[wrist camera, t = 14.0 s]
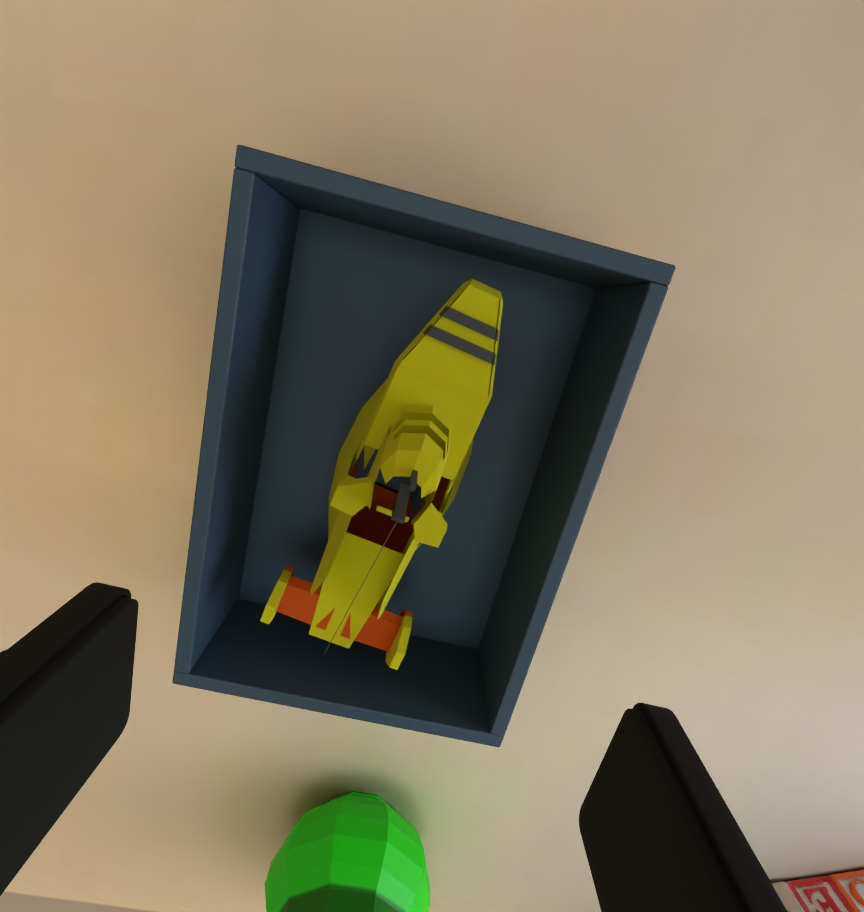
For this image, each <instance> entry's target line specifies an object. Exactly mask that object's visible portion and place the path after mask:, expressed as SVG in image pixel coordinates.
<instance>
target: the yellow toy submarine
mask: <svg viewBox="0 0 864 912" xmlns="http://www.w3.org/2000/svg"><path fill="white" fill-rule="evenodd" d="M502 309H503V299H502V295H501V292H500V291H498V290H496V289H494V288H491V287H489V286H487V285H485V284H483V283H481V282H479V281H476V280H474V279H471V280H469V281H467V282H465V283H463V284H462V285H461V286H460V287H459V288H458V290H457V291H456V292H455V293H454V294H453V295H452V296H451V298H450V299H449V300H448V301H447V302H446V303H445V304H444V306H443V307H442V308H441V309H440V310H439V311H438V312H437V314H436V315H435V316H434V317H433V318H432V319H431V320H430V322H429V323H428V324H427V325H426V326H425V327H424V328H423V330H422V331H421V332H420V333H419V334H418V335H417V336H416V338H415V339H414V340H413V341H412V342H411V343H410V344H409V346H408V347H407V348H406V349H405V350H404V351H403V352H402V354H401V355H400V356H399V357H398V358H397V360H396V361H395V362H394V364H393V367H392V369H391V372H390V374H389V376H388V378H387V379H386V381H385V382H384V383H383V384H382V385H381V386H380V388H379V389H378V390H377V391H376V392H375V393H374V394H373V396H372V397H371V398H370V399H369V400H368V401H367V402H366V404H365V405H364V406H363V407H362V408H361V410H360V412H359V414H358V416H357V418H356V420H355V422H354V424H353V426H352V428H351V430H350V432H349V434H348V436H347V438H346V440H345V442H344V444H343V446H342V448H341V450H340V452H339V455H338V460H337V464H336V468H335V473H334V477H333V481H332V486H331V490H330V494H329V514H328V543H327V546H326V549H325V551H324V554H323V557H322V560H321V562H320V565H319V568H318V570H317V573H316V576H315V579H314V581H313V583H312V582H309V581H305V580H302V579H299V578H296V577H293V576H292V575H293V572H294V567H291V566H289V565H286V567H285V568H284V570H283V572H282V574H281V576H280V578H279V580H278V582H277V584H276V586H275V588H274V590H273V592H272V594H271V596H270V598H269V600H268V602H267V604H266V607H265V609H264V612H263V615H262V617H261V620H260V621H261V622H264V623H267V624H269V623H270V622H271V621H272V620H273V618H274V616H275V614H276V612H280V613H282V614H285V615H287V616H290V617H292V618H295V619H297V620H300V621H303V622H305V623H308V624H310V625H311V628H310V631H309V635H312V636H315V637H318V638H320V639H323V640H326V641H329V642H330V643H331V642H332V643H334V644H337V645H340V646H343V647H346V648H348V649H349V648H350V646H351V644H352V643H353V641H354V640H355V641H358V642H361V643H364V644H367V645H370V646H373V647H376V648H379V649H382V650H385V651H387V652H386V661H385V662H386V663H387V665H388V666H389V667H390V668H393V669H395V670H398V668H399V666H400V664H401V662H402V660H403V658H404V656H405V653H406V649H407V644H408V640H409V636H410V632H411V626H412V616H413V612H412V611H409V610H406V609H405V610H403V611H401V613H400V615H396V614H394V613H391V612H389V611H387V610H384V609H385V607H386V605H387V603H388V602H389V600H390V598H391V596H392V594H393V592H394V590H395V588H396V586H397V584H398V582H399V581H400V579H401V577H402V575H403V573H404V571H405V569H406V567H407V565H408V563H409V562H410V560H411V558H412V556H413V554H414V552H415V551H416V550H417V549H418V548H419V547H420V546H421V544H422V543H424V544H427V545H431V546H434V547H437V548H438V547H439V545H440V543H441V541H442V539H443V537H444V535H445V533H446V530H447V523H446V521H445V520H444V519H443V517H442V516H443V515H444V513H445V512H446V511H447V509H448V508H449V506H450V505H451V503H452V502H453V500H454V498H455V496H456V493H457V491H458V488H459V485H460V483H461V480H462V477H463V475H464V472H465V469H466V467H467V464H468V461H469V459H470V456H471V451H472V443H473V437H474V435H475V433H476V431H477V428H478V426H479V424H480V422H481V420H482V417H483V415H484V413H485V411H486V408H487V406H488V404H489V402H490V400H491V397H492V392H493V384H494V375H495V367H496V359H497V351H498V342H499V334H500V326H501V317H502ZM363 449H364V469H365V467H366V466H367V464H368V462H369V460H370V458H371V457H372V455H373V453H374V451H375V450H376V449H377V450H378V452H377V455H376V457H375V460H374V462H373V464H372V467H371V469H370V471H369V474H368V476H367V477H365V478H357V479H355V474H356V471H357V467H358V464H359V460H360V457H361V453H362V450H363ZM379 468H380V469H381V472H382V475H383V478H384V481H385V484H386V483H387V482H388V481H389V480H390V479H391V478H392V477H393V476H403V477H410V485H407V484H404V483H402V482H401V484H400V489H399V493H398V494H397V493H395V492H392V491H390V490H388V489H385V488H383V487H380V486H378V485H375V484H374V482H375V481H377V479H378V476H377V475H378V472H379ZM417 484H418V485H419V486H420V487H421V498H423V497H425V500H424V502H423V504H422V505H421V507H420V509H419V510H418V512H417V514H416V515H415V517H414V518H413V516H412V506H411V499H410V498H409V495H410V491H412V492H414V491H415V489H416V487H417ZM322 582H323V585H322V586H321V584H322ZM329 645H330V644H329ZM329 645H328V647H329ZM328 647H327V649H328ZM327 649H326V650H327ZM325 652H326V651H325Z"/></svg>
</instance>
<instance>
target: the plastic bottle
mask: <svg viewBox="0 0 864 912" xmlns="http://www.w3.org/2000/svg"><path fill="white" fill-rule="evenodd" d="M265 893H266V910H267V912H428V909H429V906H430V884H429V878H428V872H427V866H426V860H425V854H424V848H423V845H422V843H421V840H420V837H419V834H418V832H417V830H416V829H415V828H414V827H413V826H412V825H411V824H410V823H409V822H408V821H407V820H406V819H404V818H403V817H402V816H401V815H399V814H398V813H397V812H396V811H394V809H393V808H392V807H391V806H389V805H388V804H387V803H386V802H384V801H383V800H382V799H381V798H379V797H378V796H377V795H371V794H365V793H358V792H350V793H347V794H344V795H342V796H339V797H336V798H333V799H330V801H329V802H328V803H325V804H323V805H320V806H318V807H315V808H312V809H311V810H309V811H308V812H306V813H305V814H303V815H302V817H301V818H300V819H299V821H298V822H297V824H296V825H295V827H294V828H293V830H292V831H291V833H290V834H289V836H288V837H287V839H286V840H285V842H284V844H283V845H282V847H281V848H280V850H279V851H278V853H277V854H276V856H275V857H274V859H273V860H272V862H271V865H270V868H269V872H268V875H267V879H266V882H265Z"/></svg>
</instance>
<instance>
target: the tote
mask: <svg viewBox="0 0 864 912" xmlns="http://www.w3.org/2000/svg"><path fill="white" fill-rule="evenodd" d="M235 167H236V168H235V169H234V175H233V184H232V192H231V200H230V209H229V217H228V225H227V234H226V242H225V250H224V259H223V267H222V275H221V284H220V292H219V300H218V309H217V317H216V325H215V334H214V342H213V350H212V359H211V367H210V375H209V384H208V392H207V400H206V409H205V417H204V425H203V434H202V442H201V450H200V459H199V467H198V475H197V484H196V492H195V500H194V509H193V517H192V525H191V533H190V542H189V550H188V558H187V567H186V575H185V583H184V592H183V600H182V608H181V617H180V625H179V633H178V642H177V650H176V658H175V667H174V670H175V671H174V675H173V683H174V684H179V685H184V686H189V687H194V688H199V689H204V690H209V691H215V692H220V693H225V694H230V695H235V696H240V697H245V698H250V699H255V700H260V701H266V702H271V703H276V704H281V705H286V706H291V707H296V708H301V709H306V710H311V711H317V712H322V713H327V714H332V715H337V716H342V717H347V718H352V719H357V720H362V721H368V722H373V723H378V724H383V725H388V726H393V727H398V728H403V729H408V730H413V731H419V732H424V733H429V734H434V735H439V736H444V737H449V738H454V739H459V740H464V741H470V742H475V743H480V744H485V745H490V746H495V747H500V745H501V743H502V740H503V737H504V735H505V732H506V729H507V726H508V724H509V721H510V718H511V715H512V713H513V710H514V707H515V705H516V702H517V699H518V696H519V694H520V691H521V688H522V685H523V683H524V680H525V677H526V675H527V672H528V669H529V666H530V664H531V661H532V658H533V655H534V653H535V650H536V647H537V644H538V642H539V639H540V636H541V634H542V631H543V628H544V625H545V623H546V620H547V617H548V614H549V612H550V609H551V606H552V604H553V601H554V598H555V595H556V593H557V590H558V587H559V584H560V582H561V579H562V576H563V574H564V571H565V568H566V565H567V563H568V560H569V557H570V554H571V552H572V549H573V546H574V544H575V541H576V538H577V535H578V533H579V530H580V527H581V524H582V522H583V519H584V516H585V513H586V511H587V508H588V505H589V503H590V500H591V497H592V494H593V492H594V489H595V486H596V483H597V481H598V478H599V475H600V473H601V470H602V467H603V464H604V462H605V459H606V456H607V453H608V451H609V448H610V445H611V443H612V440H613V437H614V434H615V432H616V429H617V426H618V423H619V421H620V418H621V415H622V412H623V410H624V407H625V404H626V402H627V399H628V396H629V393H630V391H631V388H632V385H633V382H634V380H635V377H636V374H637V372H638V369H639V366H640V363H641V361H642V358H643V355H644V352H645V350H646V347H647V344H648V342H649V339H650V336H651V333H652V331H653V328H654V325H655V322H656V320H657V317H658V314H659V312H660V309H661V306H662V303H663V301H664V298H665V295H666V292H667V290H668V287H667V286H668V285H669V284H670V281H671V279H672V276H673V273H674V270H675V266H674V265H671V264H667V263H664V262H660V261H656V260H653V259H649V258H646V257H642V256H638V255H635V254H631V253H628V252H624V251H620V250H617V249H613V248H610V247H606V246H602V245H599V244H595V243H592V242H588V241H584V240H581V239H577V238H574V237H570V236H566V235H563V234H559V233H556V232H552V231H548V230H545V229H541V228H538V227H534V226H530V225H527V224H523V223H520V222H516V221H512V220H509V219H505V218H502V217H498V216H494V215H491V214H487V213H484V212H480V211H477V210H473V209H469V208H466V207H462V206H459V205H455V204H451V203H448V202H444V201H441V200H437V199H433V198H430V197H426V196H423V195H419V194H415V193H412V192H408V191H405V190H401V189H397V188H394V187H390V186H387V185H383V184H379V183H376V182H372V181H369V180H365V179H361V178H358V177H354V176H351V175H347V174H343V173H340V172H336V171H333V170H329V169H325V168H322V167H318V166H315V165H311V164H307V163H304V162H300V161H297V160H293V159H289V158H286V157H282V156H279V155H275V154H271V153H268V152H264V151H261V150H257V149H253V148H250V147H246V146H243V145H237V151H236V159H235ZM471 279H474V280H476V281H479V282H481V283H483V284H485V285H487V286H489V287H491V288H494V289H496V290H498V291H500V292H501V295H502V299H503V309H502V317H501V326H500V334H499V342H498V351H497V359H496V367H495V375H494V384H493V392H492V397H491V400H490V402H489V404H488V406H487V408H486V411H485V413H484V415H483V417H482V420H481V422H480V424H479V426H478V428H477V431H476V433H475V435H474V437H473V443H472V451H471V456H470V459H469V461H468V464H467V467H466V469H465V472H464V475H463V477H462V480H461V483H460V485H459V488H458V491H457V493H456V496H455V498H454V500H453V502H452V503H451V505H450V506H449V508H448V509H447V511H446V512H445V513H444V515H443V516H442V517H443V519H444V520H445V521H446V523H447V530H446V533H445V535H444V537H443V539H442V541H441V543H440V545H439V547H438V548H437V547H434V546H431V545H427V544H424V543H422V544H421V546H420V547H419V548H418V549H417V550H416V551H415V552H414V554H413V556H412V558H411V560H410V562H409V563H408V565H407V567H406V569H405V571H404V573H403V575H402V577H401V579H400V581H399V582H398V584H397V586H396V588H395V590H394V592H393V594H392V596H391V598H390V600H389V602H388V603H387V605H386V607H385V609H384V610H387V611H389V612H391V613H394V614H396V615H400V613H401V611H403V610H405V609H406V610H409V611H412V612H413V616H412V626H411V632H410V636H409V640H408V644H407V649H406V653H405V656H404V658H403V660H402V662H401V664H400V666H399V668H398V670H395V669H393V668H390V667H389V666H388V665H387V663H386V662H385V661H386V652H387V651H385V650H382V649H379V648H376V647H373V646H370V645H367V644H364V643H361V642H358V641H355V640H354V641H353V643H352V644H351V646H350V648H349V649H348V648H346V647H343V646H340V645H337V644H334V643H332V642H331V643H330V642H329V641H326V640H323V639H320V638H318V637H315V636H312V635H309V631H310V628H311V625H310V624H308V623H305V622H303V621H300V620H297V619H295V618H292V617H290V616H287V615H285V614H282V613H280V612H276V614H275V616H274V618H273V620H272V621H271V622H270V623H269V624H267V623H264V622H261V621H260V620H261V617H262V615H263V612H264V609H265V607H266V604H267V602H268V600H269V598H270V596H271V594H272V592H273V590H274V588H275V586H276V584H277V582H278V580H279V578H280V576H281V574H282V572H283V570H284V568H285V567H286V565H289V566H291V567H294V572H293V575H292V576H293V577H296V578H299V579H302V580H305V581H309V582H312V583H313V581H314V579H315V576H316V573H317V570H318V568H319V565H320V562H321V560H322V557H323V554H324V551H325V549H326V546H327V543H328V514H329V494H330V490H331V486H332V481H333V477H334V473H335V468H336V464H337V460H338V455H339V452H340V450H341V448H342V446H343V444H344V442H345V440H346V438H347V436H348V434H349V432H350V430H351V428H352V426H353V424H354V422H355V420H356V418H357V416H358V414H359V412H360V410H361V408H362V407H363V406H364V405H365V404H366V402H367V401H368V400H369V399H370V398H371V397H372V396H373V394H374V393H375V392H376V391H377V390H378V389H379V388H380V386H381V385H382V384H383V383H384V382H385V381H386V379H387V378H388V376H389V374H390V372H391V369H392V367H393V364H394V362H395V361H396V360H397V358H398V357H399V356H400V355H401V354H402V352H403V351H404V350H405V349H406V348H407V347H408V346H409V344H410V343H411V342H412V341H413V340H414V339H415V338H416V336H417V335H418V334H419V333H420V332H421V331H422V330H423V328H424V327H425V326H426V325H427V324H428V323H429V322H430V320H431V319H432V318H433V317H434V316H435V315H436V314H437V312H438V311H439V310H440V309H441V308H442V307H443V306H444V304H445V303H446V302H447V301H448V300H449V299H450V298H451V296H452V295H453V294H454V293H455V292H456V291H457V290H458V288H459V287H460V286H461V285H462V284H463V283H465V282H467V281H469V280H471ZM377 452H378V450H377V449H376V450H375V451H374V453H373V455H372V457H371V458H370V460H369V462H368V464H367V466H366V467H365V469H364V449H363V450H362V453H361V457H360V460H359V464H358V467H357V471H356V474H355V479H357V478H365V477H367V476H368V474H369V471H370V469H371V467H372V464H373V462H374V460H375V457H376V455H377ZM377 476H378V479H377V481H375V482H374V484H375V485H378V486H380V487H383V488H385V489H388V490H390V491H392V492H395V493H397V494H398V493H399V489H400V484H401V482H402V483H404V484H407V485H410V477H403V476H393V477H392V478H391V479H390V480H389V481H388V482H387V483H386V484H385V481H384V478H383V475H382V472H381V469H380V468H379V472H378V475H377ZM409 498H410V499H411V506H412V516H413V518H414V517H415V515H416V514H417V512H418V510H419V509H420V507H421V505H422V504H423V502H424V500H425V497H423V498H421V487H420V486H419V485H418V484H417V487H416V489H415V491H414V492H412V491H410V495H409ZM322 585H323V582H322V584H321V586H322ZM329 644H330V645H329ZM328 645H329V647H328ZM327 647H328V649H327ZM326 649H327V650H326ZM325 651H326V652H325Z"/></svg>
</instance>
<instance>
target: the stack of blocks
mask: <svg viewBox="0 0 864 912" xmlns="http://www.w3.org/2000/svg"><path fill="white" fill-rule="evenodd" d="M772 885H773V887H774V889H775V890H776V892H777V894H778V896H779V897H780V899H781V901H782V903H783V904H784V906H785V908H786V910H787V911H788V912H864V869H863V870H859V871H854V872H845V873H838V874H832V875H829V876H820V877H813V878H806V879H799V880H793V881H788V882H784V881H783V882H776V883H772Z"/></svg>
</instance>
